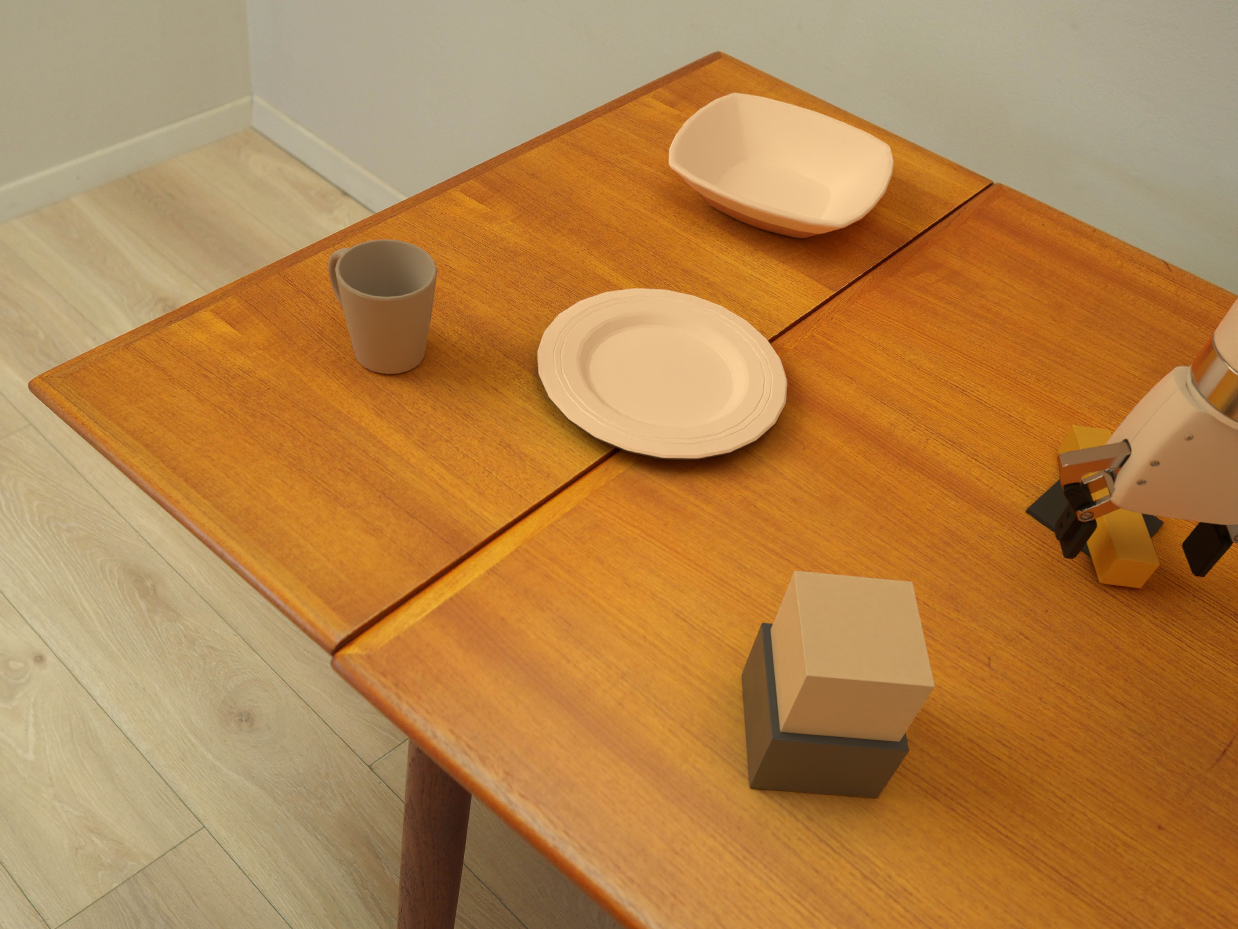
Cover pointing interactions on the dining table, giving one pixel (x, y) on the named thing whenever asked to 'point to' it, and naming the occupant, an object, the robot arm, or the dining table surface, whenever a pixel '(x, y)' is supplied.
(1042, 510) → the mat
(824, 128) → the bowl
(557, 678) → the dining table surface
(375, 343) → the cup
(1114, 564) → the bar
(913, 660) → the tower
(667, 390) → the plate
